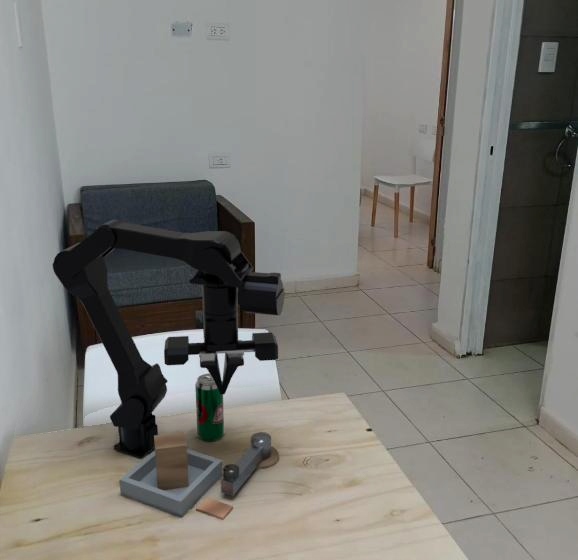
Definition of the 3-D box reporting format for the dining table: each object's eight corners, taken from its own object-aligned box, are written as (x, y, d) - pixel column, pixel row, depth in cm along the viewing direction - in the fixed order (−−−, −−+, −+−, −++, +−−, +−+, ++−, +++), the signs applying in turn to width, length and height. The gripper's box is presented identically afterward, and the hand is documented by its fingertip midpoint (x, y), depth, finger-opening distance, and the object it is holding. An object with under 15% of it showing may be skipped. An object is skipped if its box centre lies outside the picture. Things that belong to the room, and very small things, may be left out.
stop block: (156, 476, 105) (154, 435, 102) (186, 472, 106) (184, 431, 103) (157, 491, 101) (155, 449, 98) (188, 486, 102) (186, 445, 100)
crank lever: (256, 446, 113) (256, 427, 112) (274, 451, 112) (274, 431, 110) (217, 492, 101) (216, 471, 99) (236, 498, 99) (236, 477, 98)
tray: (120, 494, 101) (119, 479, 100) (165, 456, 111) (164, 441, 110) (181, 517, 96) (180, 501, 95) (222, 475, 106) (222, 460, 105)
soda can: (219, 444, 115) (217, 386, 111) (193, 440, 116) (191, 383, 112) (227, 429, 120) (226, 373, 116) (202, 426, 121) (200, 371, 117)
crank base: (192, 508, 98) (192, 505, 98) (254, 443, 115) (254, 441, 115) (226, 521, 95) (226, 518, 95) (284, 452, 113) (284, 450, 112)
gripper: (271, 290, 111) (270, 369, 116) (165, 294, 108) (169, 374, 113) (278, 313, 100) (278, 398, 105) (161, 318, 98) (166, 405, 103)
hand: (222, 393), depth 107 cm, fingers closed
